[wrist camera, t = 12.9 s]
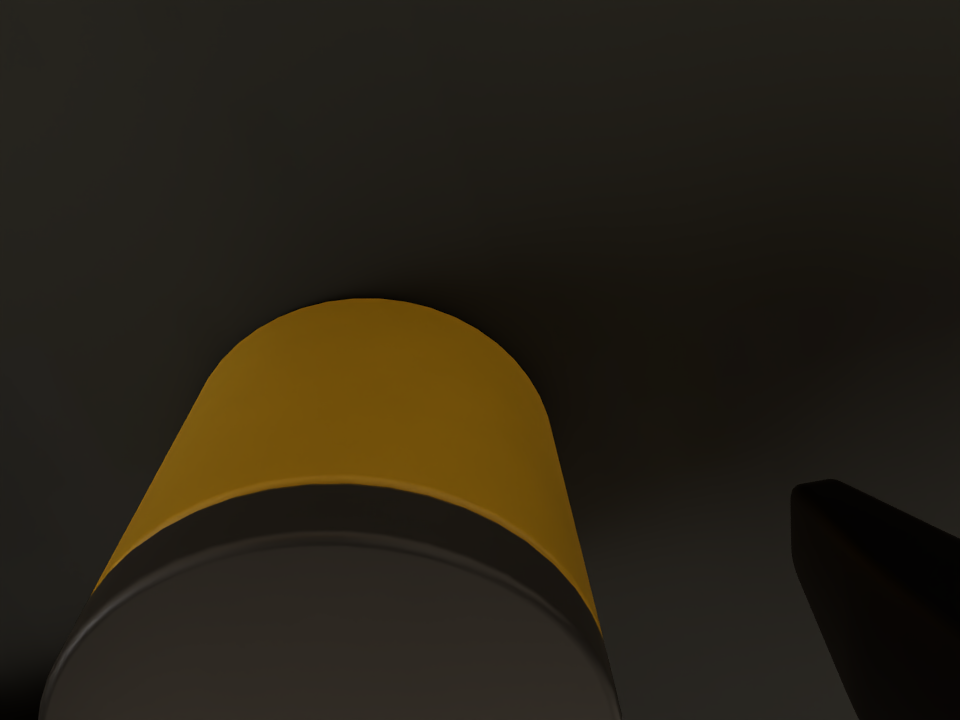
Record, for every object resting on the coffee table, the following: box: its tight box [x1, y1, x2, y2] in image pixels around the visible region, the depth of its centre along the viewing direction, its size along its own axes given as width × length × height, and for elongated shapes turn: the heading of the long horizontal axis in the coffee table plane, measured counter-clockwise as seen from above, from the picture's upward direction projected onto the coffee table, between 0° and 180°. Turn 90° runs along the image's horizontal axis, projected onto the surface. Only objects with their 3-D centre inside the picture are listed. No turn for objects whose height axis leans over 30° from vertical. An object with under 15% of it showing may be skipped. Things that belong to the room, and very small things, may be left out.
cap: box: [38, 299, 622, 720], centre depth 9 cm, size 5×5×4 cm
